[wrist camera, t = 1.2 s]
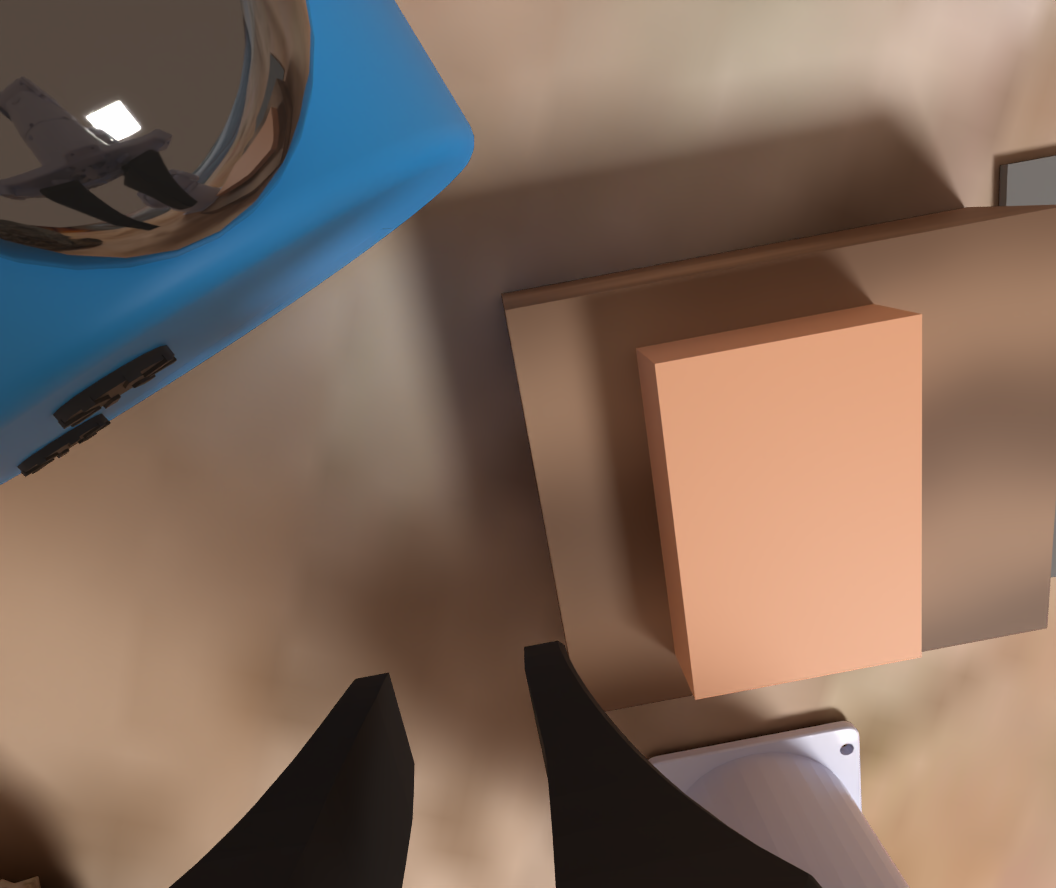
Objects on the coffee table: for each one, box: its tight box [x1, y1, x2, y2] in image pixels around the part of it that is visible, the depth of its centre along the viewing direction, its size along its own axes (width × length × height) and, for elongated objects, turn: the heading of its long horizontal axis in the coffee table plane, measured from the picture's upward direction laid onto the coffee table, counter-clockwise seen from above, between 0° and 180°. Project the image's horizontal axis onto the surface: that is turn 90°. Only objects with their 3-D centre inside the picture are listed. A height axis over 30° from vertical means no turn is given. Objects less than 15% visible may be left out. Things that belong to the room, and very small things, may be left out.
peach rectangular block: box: [636, 304, 922, 700], centre depth 18 cm, size 9×6×2 cm, turn 10°
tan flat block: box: [501, 205, 1056, 712], centre depth 20 cm, size 12×14×4 cm
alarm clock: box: [0, 0, 474, 485], centre depth 12 cm, size 13×6×15 cm, turn 122°
